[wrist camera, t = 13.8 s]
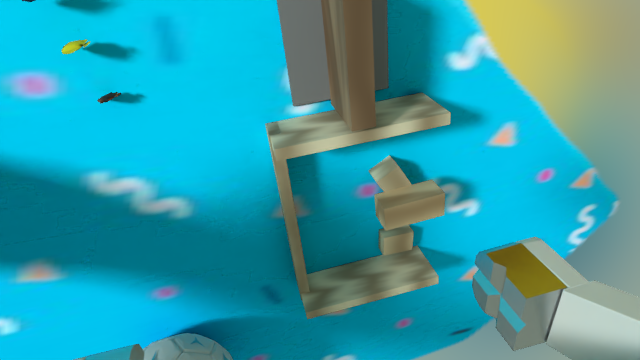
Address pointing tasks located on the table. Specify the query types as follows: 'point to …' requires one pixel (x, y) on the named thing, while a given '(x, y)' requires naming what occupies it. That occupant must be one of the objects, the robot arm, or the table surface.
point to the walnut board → (350, 60)
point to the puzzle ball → (186, 349)
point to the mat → (322, 48)
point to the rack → (288, 142)
